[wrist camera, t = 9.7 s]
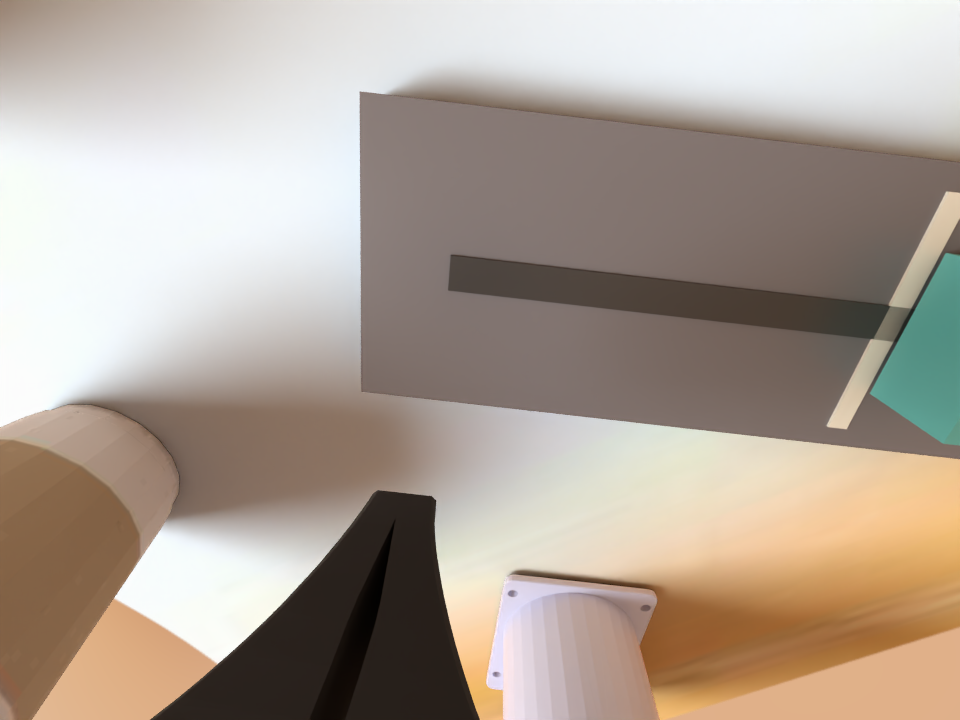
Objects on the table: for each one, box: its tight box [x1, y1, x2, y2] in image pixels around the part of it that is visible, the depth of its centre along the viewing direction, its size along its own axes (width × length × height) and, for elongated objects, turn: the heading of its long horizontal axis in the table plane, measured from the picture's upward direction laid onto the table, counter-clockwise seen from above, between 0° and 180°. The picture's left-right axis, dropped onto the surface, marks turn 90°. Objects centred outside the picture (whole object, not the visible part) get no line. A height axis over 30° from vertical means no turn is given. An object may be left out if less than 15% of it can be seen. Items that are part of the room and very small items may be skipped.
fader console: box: [360, 92, 960, 459], centre depth 16 cm, size 10×24×2 cm, turn 84°
